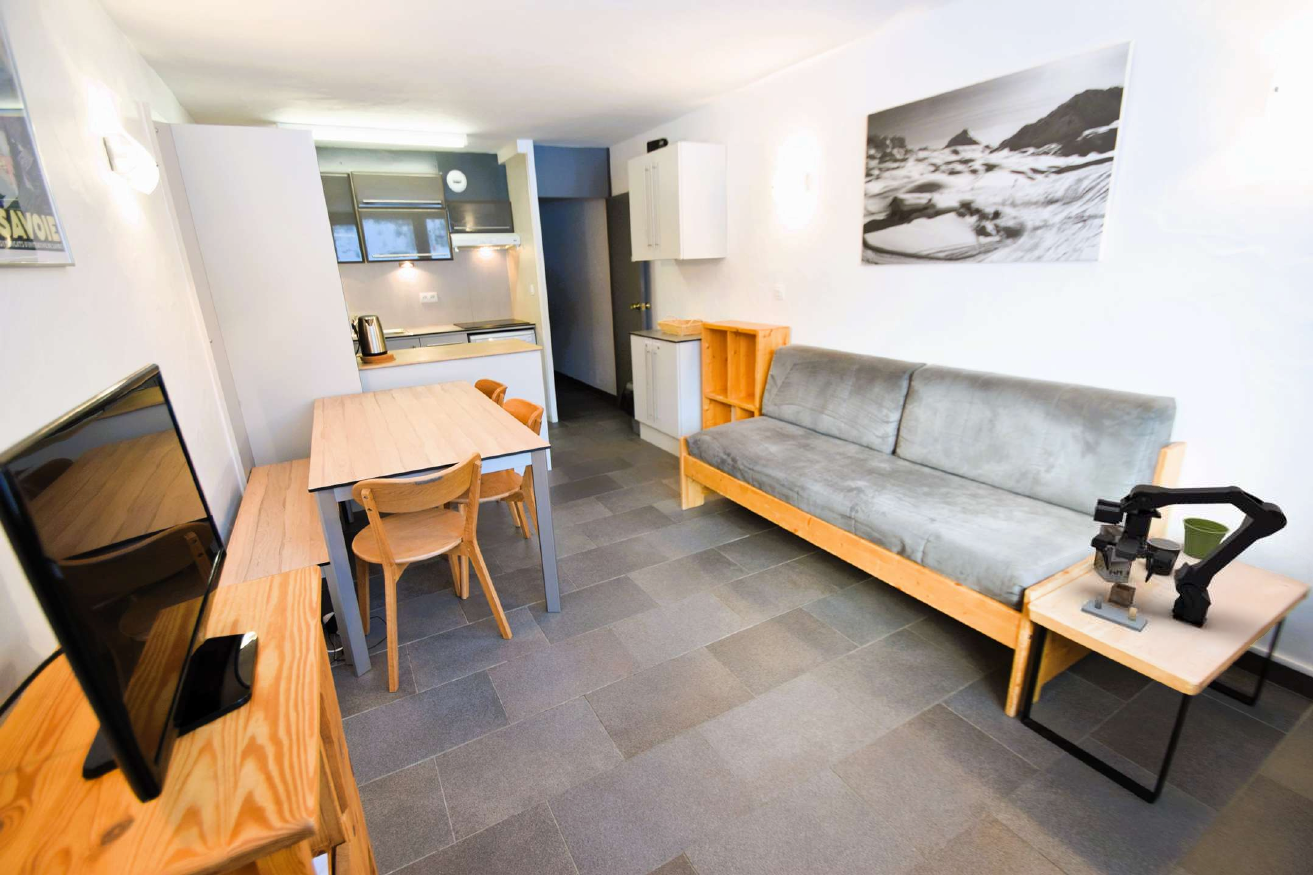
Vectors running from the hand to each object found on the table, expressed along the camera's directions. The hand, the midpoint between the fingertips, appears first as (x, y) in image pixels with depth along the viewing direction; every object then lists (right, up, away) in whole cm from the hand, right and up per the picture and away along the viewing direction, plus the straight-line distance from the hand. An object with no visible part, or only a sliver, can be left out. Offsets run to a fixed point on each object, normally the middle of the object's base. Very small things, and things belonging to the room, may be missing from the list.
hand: (1126, 576), depth 173 cm
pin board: (-7, -11, -4) cm, 13 cm away
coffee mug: (+25, -2, +20) cm, 32 cm away
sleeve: (0, -8, +3) cm, 9 cm away
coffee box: (+9, -4, +17) cm, 20 cm away
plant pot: (+47, +1, +28) cm, 54 cm away
